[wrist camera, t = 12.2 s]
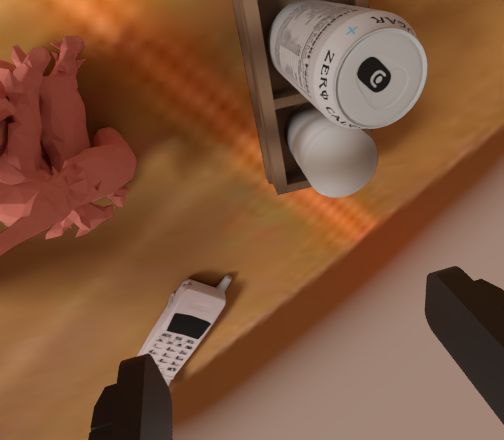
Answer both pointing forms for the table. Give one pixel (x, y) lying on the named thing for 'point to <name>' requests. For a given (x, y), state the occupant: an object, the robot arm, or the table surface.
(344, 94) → the energy drink can
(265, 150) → the rack
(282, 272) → the table surface
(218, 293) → the mobile phone
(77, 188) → the anatomical model
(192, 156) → the table surface
